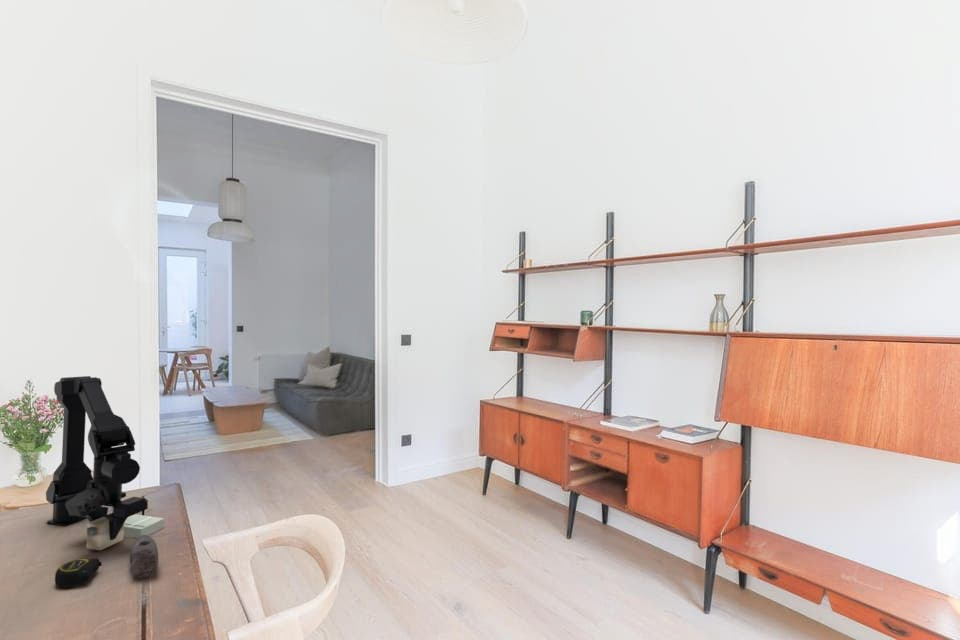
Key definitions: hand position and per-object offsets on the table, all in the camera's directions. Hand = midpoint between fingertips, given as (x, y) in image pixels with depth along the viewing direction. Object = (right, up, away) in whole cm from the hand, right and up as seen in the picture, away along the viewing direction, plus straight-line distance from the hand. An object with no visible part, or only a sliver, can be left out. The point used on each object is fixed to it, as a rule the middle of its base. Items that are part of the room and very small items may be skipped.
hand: (105, 538), depth 119 cm
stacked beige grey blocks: (0, -1, 0) cm, 1 cm away
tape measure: (+6, -3, -15) cm, 16 cm away
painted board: (-2, -2, +10) cm, 11 cm away
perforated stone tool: (+15, -3, -9) cm, 18 cm away
